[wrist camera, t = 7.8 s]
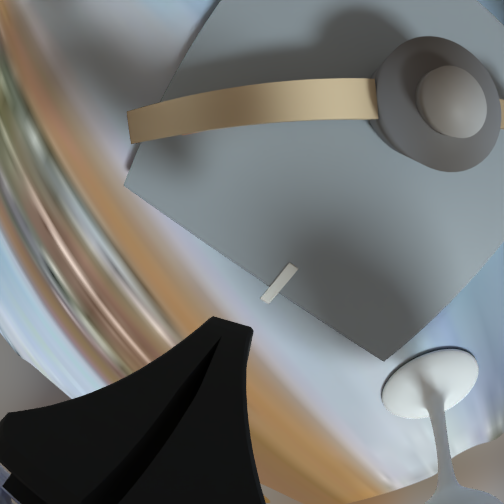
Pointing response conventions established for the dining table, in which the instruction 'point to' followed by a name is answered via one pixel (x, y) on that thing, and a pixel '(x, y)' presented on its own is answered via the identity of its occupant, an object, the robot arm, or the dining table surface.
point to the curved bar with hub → (362, 105)
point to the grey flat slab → (330, 168)
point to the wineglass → (437, 410)
